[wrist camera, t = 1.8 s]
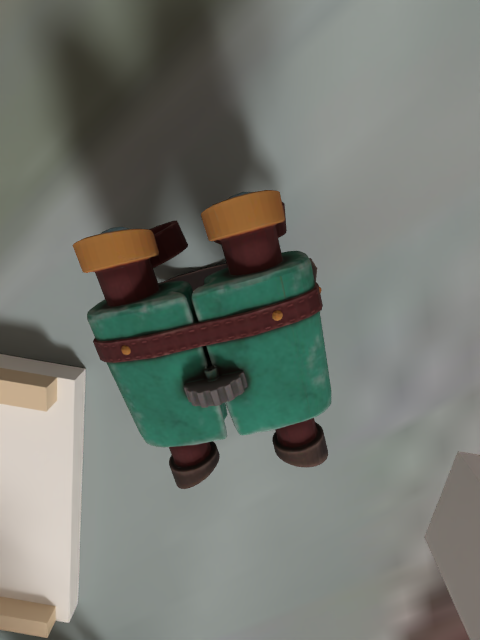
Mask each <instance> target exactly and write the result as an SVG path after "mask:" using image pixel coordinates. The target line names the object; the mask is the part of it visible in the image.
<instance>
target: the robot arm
mask: <svg viewBox="0 0 480 640" xmlns="http://www.w3.org/2000/svg"><path fill="white" fill-rule="evenodd" d="M425 539H426V542H427V544H428V546H429V548H430V551H431V553H432V555H433V557H434V560H435V562H436V564H437V566H438V569H439V571H440V573H441V575H442V578H443V580H444V582H445V584H446V587H447V589H448V591H449V593H450V596H451V598H452V600H453V602H454V605H455V607H456V609H457V611H458V614H459V616H460V618H461V620H462V623H463V625H464V627H465V629H466V631H467V634H468V636H469V638H470V640H480V455H477V454H471V453H465V452H459V451H458V453H457V455H456V458H455V460H454V463H453V465H452V468H451V470H450V473H449V476H448V478H447V481H446V483H445V486H444V488H443V491H442V494H441V496H440V499H439V501H438V504H437V506H436V509H435V512H434V514H433V517H432V519H431V522H430V524H429V527H428V530H427V532H426V535H425Z"/></svg>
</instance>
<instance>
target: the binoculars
mask: <svg viewBox="0 0 480 640" xmlns="http://www.w3.org/2000/svg"><path fill="white" fill-rule="evenodd" d="M201 217H202V220H203V224H204V227H205V230H206V233H207V236H208V240H209V241H214V242H216V243H218V244H222V248H223V252H224V255H225V259H226V262H227V263H226V264H221V265H217V266H213V267H209V268H205V269H201V270H197V271H194V272H190V273H187V274H184V275H180V276H177V277H174V278H171V279H169V280H166V281H164V282H161V283H158V282H157V279H156V276H155V273H154V270H153V268H155V267H157V266H159V265H161V264H163V263H164V262H166V261H168V260H170V259H171V258H173V257H175V256H176V255H178V254H179V253H181V252H182V251H183V250H185V249H186V248H187V247H188V244H187V242H186V239H185V237H184V235H183V233H182V231H181V228H180V226H179V224H178V222H177V221H171V222H168V223H165V224H162V225H159V226H156V227H154V228H151V229H149V230H148V229H128V228H124V227H117V228H111V229H109V230H106V231H104V232H102V233H101V234H98V235H94V236H90V237H86V238H84V239H82V240H80V241H78V242H76V243H74V244H73V247H74V250H75V253H76V255H77V258H78V260H79V263H80V266H81V268H82V271H83V272H85V273H88V272H95V273H96V276H97V278H98V281H99V284H100V286H101V289H102V292H103V294H104V297H105V300H103V301H102V302H100V303H98V304H97V305H96V306H94V307H93V308H92V309H90V310H89V312H88V314H87V319H88V321H89V324H90V326H91V328H92V331H93V333H94V336H95V339H94V341H93V342H94V345H95V347H96V350H97V352H98V355H99V357H100V360H102V361H104V362H107V365H108V367H109V369H110V371H111V373H112V375H113V377H114V379H115V381H116V383H117V386H118V388H119V390H120V392H121V394H122V396H123V398H124V400H125V402H126V405H127V407H128V409H129V411H130V413H131V415H132V417H133V419H134V421H135V423H136V426H137V428H138V430H139V432H140V434H141V435H142V437H143V438H144V440H145V441H146V443H148V444H150V445H152V446H156V447H169V449H170V451H171V454H172V455H171V457H170V460H169V465H170V468H171V471H172V473H173V476H174V479H175V482H176V484H177V486H178V487H179V488H181V489H187V488H190V487H193V486H195V485H197V484H199V483H200V482H201V481H203V480H204V479H206V478H207V477H208V476H209V475H210V473H211V472H212V471H213V470H214V468H215V467H216V465H217V463H218V461H219V452H218V449H217V447H216V444H215V443H214V442H213V441H216V440H221V439H225V438H226V437H227V432H226V426H225V423H224V420H225V418H226V416H227V410H226V405H227V408H228V410H229V413H230V415H231V418H232V421H233V423H234V426H235V427H236V429H237V431H238V433H239V434H240V435H248V434H254V433H259V432H265V431H271V430H276V432H275V433H274V435H273V445H274V449H275V452H276V454H277V456H278V457H279V458H280V459H282V460H283V461H284V462H286V463H288V464H290V465H294V466H298V467H314V466H317V465H320V464H321V463H323V462H324V461H325V460H326V459H327V456H328V450H327V445H326V441H325V437H324V433H323V430H322V427H321V426H320V425H319V424H317V423H316V422H315V421H314V417H316V416H318V415H320V414H321V413H323V412H324V411H325V410H326V409H327V408H328V407H329V406H330V404H331V386H330V379H329V372H328V365H327V358H326V352H325V345H324V338H323V331H322V324H321V317H320V310H322V306H323V305H322V300H321V295H320V293H321V288H320V287H319V285H318V284H317V283H316V274H317V267H316V266H315V264H314V263H313V261H312V259H311V258H310V259H309V258H308V256H307V255H306V254H305V253H303V252H300V251H288V252H283V253H281V250H280V245H279V240H278V238H279V237H281V236H283V235H284V234H285V233H286V218H285V205H284V203H283V202H282V201H281V197H280V192H278V191H272V190H265V191H258V192H242V193H239V194H237V195H234V196H231V197H230V198H229V199H227V200H225V201H222V202H219V203H217V204H214V205H212V206H211V207H209V208H208V209H206V210H205V211H203V212H202V213H201ZM193 291H194V292H193ZM225 402H226V403H225Z"/></svg>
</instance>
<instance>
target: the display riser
mask: <svg viewBox="0 0 480 640" xmlns="http://www.w3.org/2000/svg"><path fill="white" fill-rule="evenodd" d="M85 376H86V369H85V368H79V367H73V366H67V365H62V364H56V363H50V362H44V361H38V360H32V359H26V358H21V357H15V356H9V355H3V354H0V630H5V631H10V632H16V633H22V634H27V635H33V636H39V637H45V638H48V636H49V633H50V631H51V629H52V627H53V625H54V623H55V621H61V622H67V623H69V622H70V620H71V618H72V615H73V613H74V611H75V609H76V606H77V604H78V590H79V560H80V529H81V498H82V468H83V437H84V407H85Z"/></svg>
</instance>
